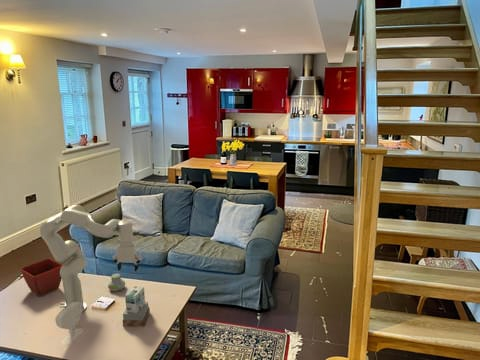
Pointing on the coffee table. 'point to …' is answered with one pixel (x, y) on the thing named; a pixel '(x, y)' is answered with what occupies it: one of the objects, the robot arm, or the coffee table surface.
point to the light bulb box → (135, 299)
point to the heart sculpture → (70, 320)
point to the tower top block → (138, 315)
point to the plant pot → (42, 276)
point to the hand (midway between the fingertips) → (128, 269)
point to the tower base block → (136, 321)
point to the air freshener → (116, 283)
